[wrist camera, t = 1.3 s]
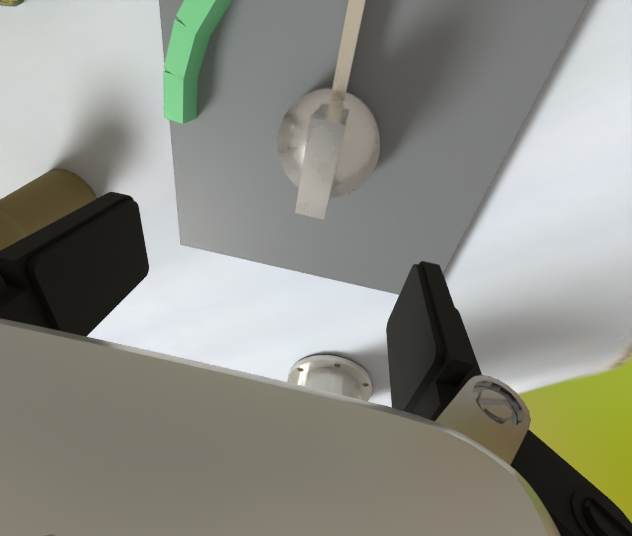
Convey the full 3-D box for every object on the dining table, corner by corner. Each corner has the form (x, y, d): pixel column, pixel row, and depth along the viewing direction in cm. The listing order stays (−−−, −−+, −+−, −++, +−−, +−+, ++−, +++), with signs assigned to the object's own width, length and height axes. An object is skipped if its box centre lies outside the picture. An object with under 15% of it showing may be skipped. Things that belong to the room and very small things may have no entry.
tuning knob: (363, 198, 28) (363, 241, 21) (277, 178, 28) (250, 216, 21) (422, -4, 20) (450, -34, 13) (301, -32, 20) (269, -74, 13)
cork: (55, 156, 32) (-68, 196, 23) (107, 200, 34) (14, 253, 25) (36, 192, 35) (-80, 240, 26) (85, 230, 37) (-6, 287, 28)
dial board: (425, 292, 35) (431, 316, 32) (186, 238, 35) (169, 256, 32) (601, -49, 19) (649, -69, 16) (158, -148, 19) (117, -188, 16)
